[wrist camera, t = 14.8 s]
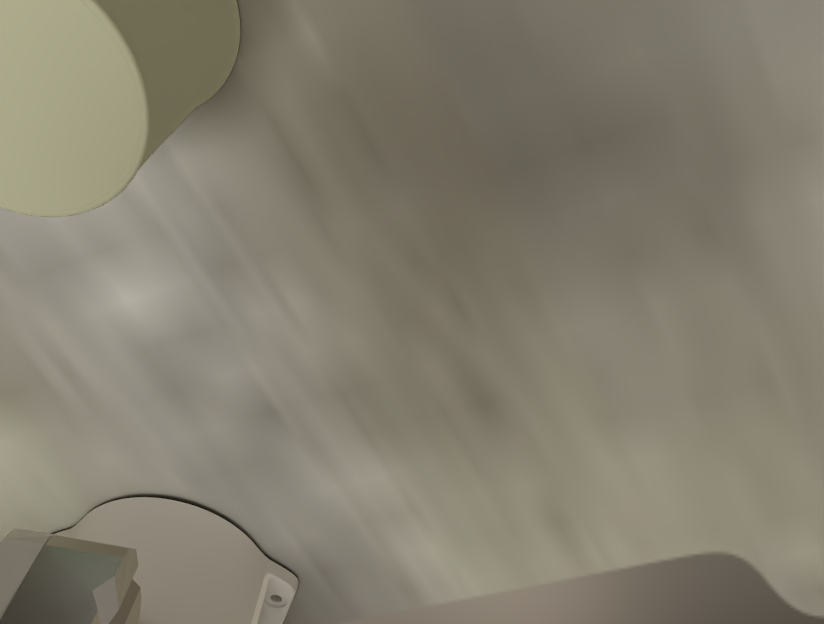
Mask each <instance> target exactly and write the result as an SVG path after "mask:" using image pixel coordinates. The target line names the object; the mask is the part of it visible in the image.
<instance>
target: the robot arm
mask: <svg viewBox="0 0 824 624" xmlns="http://www.w3.org/2000/svg"><path fill="white" fill-rule="evenodd" d="M298 584H299V583H298V579H297V578H296V576H295V575H293V574H292V573H291V572H289V571H288V570H286V569H285V568H283V567H282V566H280V565H278V564H276V563H275V562H273V561H271V560H269V559H268V558H267V557H266V556H265V555H264V554H263V553H262V552H261V551H260V550H259V549H258V548H257V546H256V545H255V544H254V543H253V542H252V541H251V540H250V539H249V538H248V537H247V536H246V535H245V534H244V533H243V532H242V531H241V530H239V529H238V528H237V527H235V526H234V525H233V524H231V523H230V522H228V521H226V520H225V519H223V518H221V517H219V516H217V515H215V514H213V513H211V512H209V511H207V510H204V509H202V508H199V507H197V506H193V505H190V504H187V503H183V502H179V501H175V500H169V499H163V498H152V497H135V498H126V499H120V500H115V501H112V502H109V503H106V504H103V505H101V506H99V507H97V508H95V509H93V510H92V511H91V512H89V513H88V514H87V515H86V516H85V517H84V518H83V519H82V520H81V521H80V522H79V523H78V524H77V525H75V526H74V527H73V528H71V529H68V530H64V531H61V532H58V533H55V534H47V533H41V532H34V531H28V530H21V529H14V530H13V531H12V532H11V533H10V534H8V535H7V536H6V537H5V538H4V539H3V540H2V541H1V542H0V624H283V622H284V619H285V617H286V615H287V612H288V610H289V608H290V605H291V603H292V600H293V598H294V596H295V593H296V590H297V588H298Z"/></svg>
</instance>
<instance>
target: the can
mask: <svg viewBox="0 0 824 624" xmlns="http://www.w3.org/2000/svg"><path fill="white" fill-rule="evenodd" d="M239 43H240V16H239V10H238V4H237V0H0V207H1V208H4V209H7V210H10V211H14V212H17V213H21V214H26V215H33V216H41V217H62V216H71V215H76V214H81V213H84V212H87V211H90V210H93V209H95V208H98V207H100V206H102V205H104V204H105V203H107V202H109V201H110V200H112V199H113V198H114V197H116V196H117V195H118V194H119V193H121V192H122V191H123V190H124V189H125V188H126V186H127V185H128V184H129V183H130V182H131V180H132V179H133V178H134V176H135V175H136V173H137V171H138V170H139V169H140V167H141V166H142V165H143V164H144V163H145V162H146V161H147V159H148V158H149V157H150V156H151V155H152V154H153V153H154V152H155V151H156V150H157V148H158V147H159V146H160V145H161V144H162V143H163V142H164V141H165V140H166V139H167V138H168V137H169V136H170V134H171V133H172V132H173V131H174V130H175V129H176V128H177V127H178V126H179V125H180V124H181V123H182V122H183V121H184V120H185V119H186V118H187V117H188V116H189V115H190V114H191V113H192V111H193V110H194V109H195V108H196V107H197V106H199V105H201V104H202V103H204V102H205V101H207V100H208V99H209V98H211V97H212V96H213V95H214V94H215V93H216V92H217V91H218V90H219V89H220V88H221V87H222V85H223V84H224V83H225V81H226V79H227V78H228V76H229V75H230V73H231V71H232V68H233V66H234V64H235V61H236V58H237V54H238V49H239Z"/></svg>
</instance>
